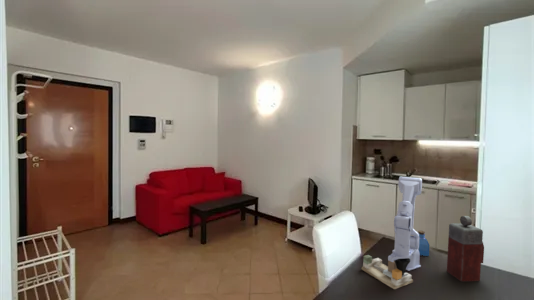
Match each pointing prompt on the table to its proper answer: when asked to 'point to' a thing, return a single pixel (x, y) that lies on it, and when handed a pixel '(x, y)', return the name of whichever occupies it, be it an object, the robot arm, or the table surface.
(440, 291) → the table surface
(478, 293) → the table surface
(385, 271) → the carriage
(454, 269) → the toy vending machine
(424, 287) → the table surface
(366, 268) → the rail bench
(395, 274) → the orange cardboard cube
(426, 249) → the perfume bottle
